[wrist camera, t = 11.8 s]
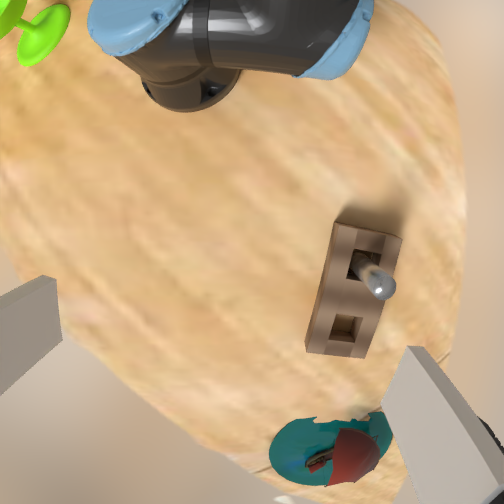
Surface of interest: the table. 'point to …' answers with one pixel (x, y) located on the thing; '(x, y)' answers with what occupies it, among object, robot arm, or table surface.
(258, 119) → the table surface
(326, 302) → the socket block
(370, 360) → the table surface
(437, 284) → the table surface
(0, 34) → the wineglass
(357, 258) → the peg
